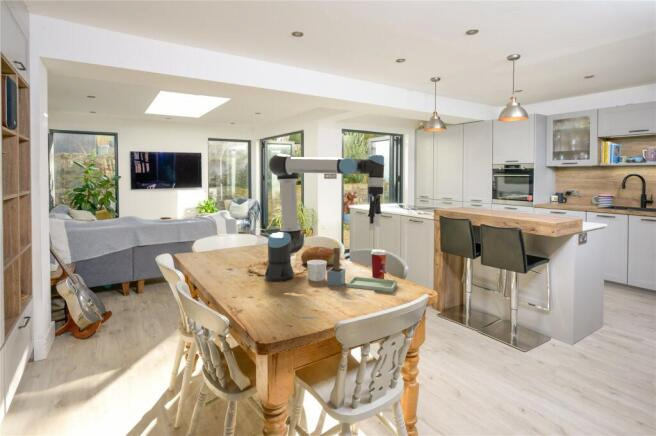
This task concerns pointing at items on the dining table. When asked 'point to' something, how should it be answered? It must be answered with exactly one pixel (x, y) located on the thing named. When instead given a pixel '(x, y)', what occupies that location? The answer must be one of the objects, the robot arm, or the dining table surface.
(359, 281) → the tray
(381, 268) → the coffee cup
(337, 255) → the dowel
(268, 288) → the dining table surface
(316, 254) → the bread
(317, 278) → the cup
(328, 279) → the pot
